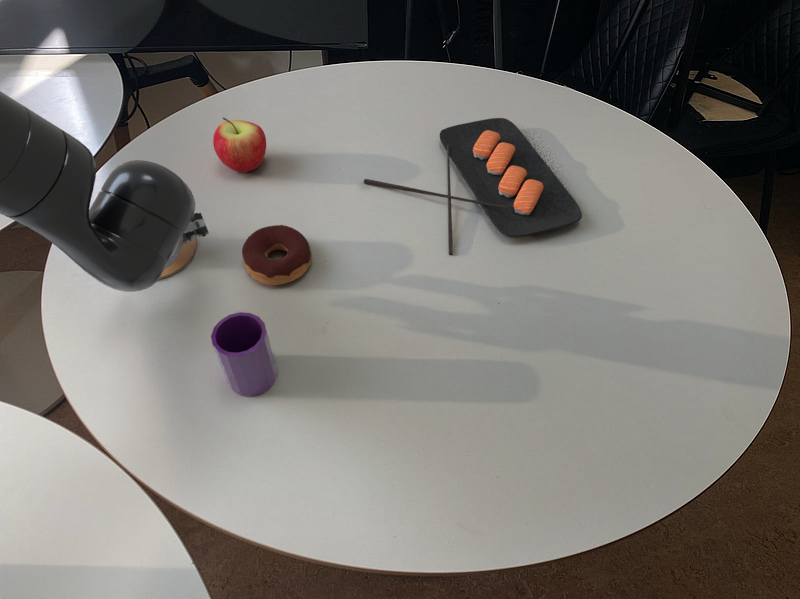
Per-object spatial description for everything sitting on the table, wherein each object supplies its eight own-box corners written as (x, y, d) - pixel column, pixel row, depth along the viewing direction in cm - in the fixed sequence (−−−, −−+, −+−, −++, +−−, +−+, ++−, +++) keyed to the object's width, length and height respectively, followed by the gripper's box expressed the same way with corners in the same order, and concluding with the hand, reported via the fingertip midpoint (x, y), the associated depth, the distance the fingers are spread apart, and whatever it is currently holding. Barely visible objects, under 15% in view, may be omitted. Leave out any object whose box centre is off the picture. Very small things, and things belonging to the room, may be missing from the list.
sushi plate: (586, 227, 94) (593, 209, 91) (406, 273, 87) (407, 255, 84) (506, 123, 111) (509, 105, 108) (350, 155, 104) (349, 136, 101)
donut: (313, 286, 85) (310, 267, 82) (243, 292, 85) (238, 273, 82) (311, 236, 92) (308, 217, 89) (246, 241, 91) (241, 222, 88)
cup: (231, 402, 74) (215, 362, 67) (224, 361, 77) (207, 319, 70) (281, 388, 75) (270, 347, 68) (272, 349, 79) (260, 306, 72)
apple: (214, 158, 103) (200, 107, 96) (261, 145, 106) (251, 94, 98) (228, 187, 99) (214, 135, 91) (277, 172, 101) (267, 121, 93)
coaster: (114, 289, 85) (113, 287, 84) (112, 232, 92) (110, 230, 91) (201, 270, 87) (200, 268, 87) (192, 216, 94) (191, 213, 94)
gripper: (196, 184, 66) (192, 201, 81) (60, 226, 61) (83, 236, 77) (222, 248, 67) (213, 253, 82) (90, 294, 63) (107, 291, 78)
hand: (150, 245), depth 79 cm, fingers open, 8 cm apart
